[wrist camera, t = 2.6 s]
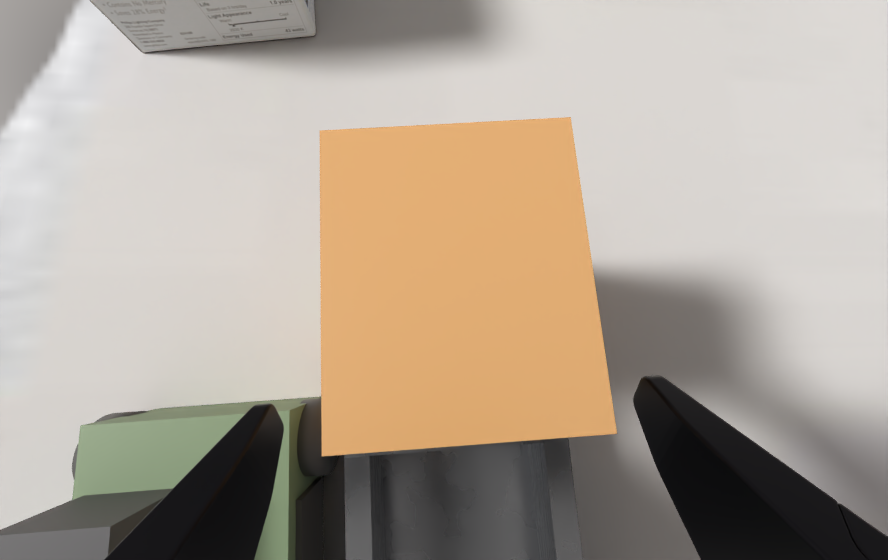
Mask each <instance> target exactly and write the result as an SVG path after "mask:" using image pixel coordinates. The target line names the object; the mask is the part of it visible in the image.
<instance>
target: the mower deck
mask: <svg viewBox="0 0 888 560" xmlns="http://www.w3.org/2000/svg"><path fill="white" fill-rule="evenodd" d="M266 403H272V404H273V405H274V406H275V407H276V409H277V411H278V413H279V416H280V418H281V420H282V422H283V425H284V433H283V439H282V444H281V450H280V455H279V461H278V467H277V472H276V478H275V483H274V489H273V494H272V498H271V502H270V506H269V510H268V513H267V517H266V520H265V524H264V527H263V531H262V534H261V538H260V541H259V544H258V548H257V551H256V555H255V558H254V560H324V556H323V477H322V475H329V474H331V473H332V471H333V469H334V467H335V465H336V461H337V457H338V455H334V456H322V424H321V397H312V398H298V399H284V400H270V401H257V402H243V403H229V404H215V405H201V406H188V407H174V408H160V409H155V410H150V411H138V412H124V413H113V414H109V415H106V416H104V417H102V418H100V419H99V420H97V421H96V422H95V423H91V424H86V425H81V426H80V434H79V443H78V445H77V448H76V450H75V453H74V457H73V463H72V472H73V477H74V489H73V498H72V500H71V501H69V502H67V503H64V504H62V505H59V506H57V507H55V508H52V509H50V510H47V511H45V512H43V513H40V514H38V515H35V516H33V517H31V518H28V519H26V520H23V521H21V522H19V523H16V524H14V525H11V526H9V527H7V528H4V529H2V530H0V560H104V559H105V558H106V557H107V556H108V555H109V554H110V553H111V552H112V551H113V550H114V549H115V548H116V547H117V546H118V545H119V543H120V542H121V541H122V540H123V539H124V538H125V537H126V536H127V535H128V534H129V533H130V532H131V531H132V530H133V529H134V528H135V527H136V526H137V525H138V524H139V523H140V522H141V521H142V520H143V519H144V518H145V517H146V516H147V515H148V514H149V513H150V512H151V511H152V509H153V508H154V507H155V506H156V505H157V504H158V503H159V502H160V501H161V500H162V499H163V498H164V497H165V496H166V495H167V494H168V493H169V492H170V491H171V490H172V489H173V488H174V487H175V486H176V485H177V484H178V483H179V482H180V481H181V480H182V479H183V478H184V476H185V475H186V474H187V473H188V472H189V471H190V470H191V469H192V468H193V467H194V466H195V465H196V464H197V463H198V462H199V461H200V460H201V459H202V458H203V457H204V456H205V455H206V454H207V453H208V452H209V451H210V450H211V449H212V448H213V447H214V446H215V445H216V444H217V442H218V441H219V440H220V439H221V438H222V437H223V436H224V435H225V434H226V433H227V432H228V431H229V430H230V429H231V428H232V427H233V426H234V425H235V424H236V423H237V422H238V421H239V420H240V419H241V418H242V417H243V416H244V415H245V414H246V413H247V412H248V411H249V410H250V408H252V407H253V406H254V405H257V404H266Z"/></svg>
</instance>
